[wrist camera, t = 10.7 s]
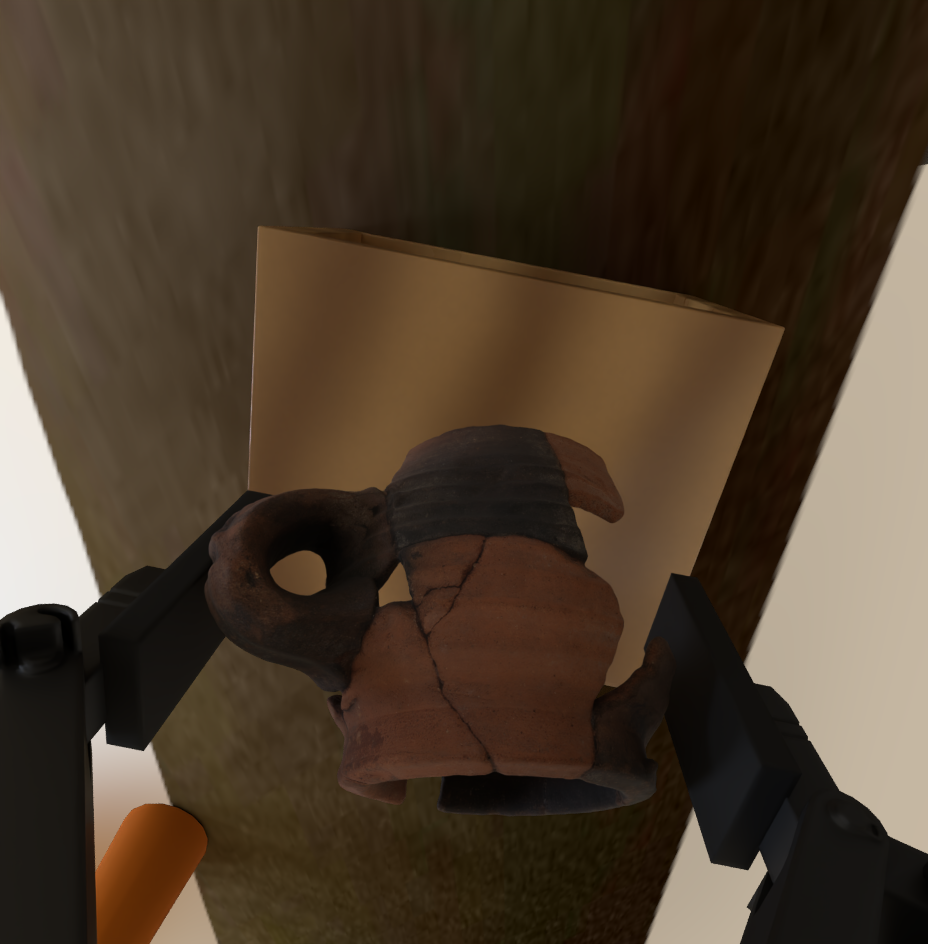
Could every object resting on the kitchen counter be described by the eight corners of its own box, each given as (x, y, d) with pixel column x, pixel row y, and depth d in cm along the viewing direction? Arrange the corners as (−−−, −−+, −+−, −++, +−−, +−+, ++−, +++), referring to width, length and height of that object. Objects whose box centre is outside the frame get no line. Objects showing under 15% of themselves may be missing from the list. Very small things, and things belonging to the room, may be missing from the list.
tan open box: (692, 295, 30) (786, 327, 19) (607, 563, 36) (645, 693, 26) (344, 228, 30) (257, 225, 20) (319, 506, 36) (242, 614, 26)
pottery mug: (710, 464, 17) (802, 793, 12) (534, 591, 23) (545, 831, 19) (285, 301, 13) (150, 699, 8) (223, 512, 19) (131, 793, 14)
